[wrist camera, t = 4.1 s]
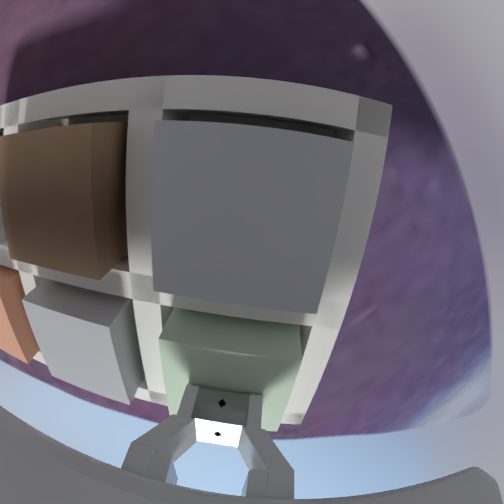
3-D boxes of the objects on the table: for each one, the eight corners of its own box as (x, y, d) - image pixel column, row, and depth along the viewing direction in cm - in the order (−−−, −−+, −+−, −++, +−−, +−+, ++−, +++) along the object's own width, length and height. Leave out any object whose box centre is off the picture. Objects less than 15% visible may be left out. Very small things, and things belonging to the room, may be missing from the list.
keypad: (3, 117, 12) (-67, 130, 6) (351, 113, 12) (414, 101, 6) (27, 302, 18) (-19, 348, 12) (296, 362, 18) (301, 447, 12)
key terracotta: (-12, 251, 12) (-42, 272, 10) (32, 263, 12) (-2, 290, 9) (7, 315, 14) (-17, 338, 12) (52, 334, 14) (28, 363, 12)
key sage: (181, 294, 12) (158, 338, 9) (297, 310, 12) (302, 359, 9) (184, 371, 14) (169, 414, 11) (277, 385, 14) (277, 431, 11)
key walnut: (45, 129, 9) (-3, 136, 7) (137, 122, 9) (92, 122, 6) (50, 233, 11) (10, 258, 9) (135, 245, 11) (99, 280, 9)
